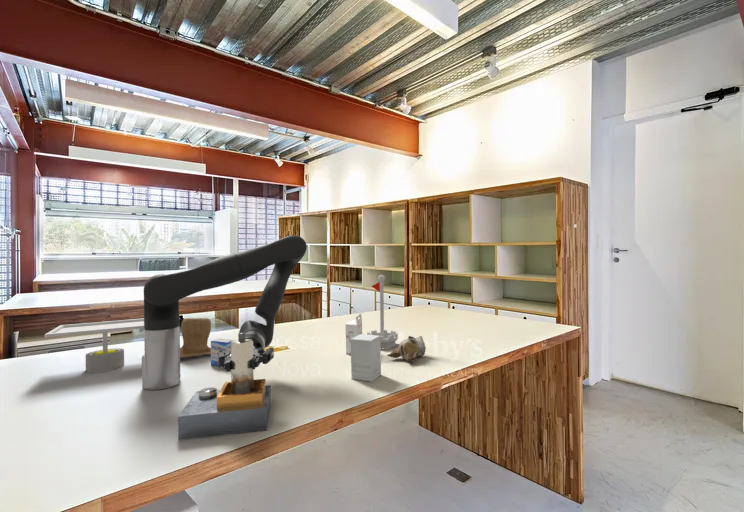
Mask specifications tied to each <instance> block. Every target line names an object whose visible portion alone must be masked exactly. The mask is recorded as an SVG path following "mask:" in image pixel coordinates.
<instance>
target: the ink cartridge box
mask: <svg viewBox="0 0 744 512" xmlns="http://www.w3.org/2000/svg"><path fill="white" fill-rule="evenodd" d="M360 334H363V317H362V313H359V314H358V315H356V317H355V319H353V320H349V321H348V322H347V323H345V354H346V355H351V339H352V338H354V337H356V336H358V335H360Z"/></svg>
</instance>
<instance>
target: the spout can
mask: <svg viewBox="0 0 744 512" xmlns="http://www.w3.org/2000/svg"><path fill="white" fill-rule="evenodd" d="M237 337H238V339H237V340H236V339H235V341H232V342H231V370H230V382H231V394H232V395H233V394H244V393H253V392H254V380H255V378H254V374H255V373H254V370H255V369H254V370H252V358H253V340H251V339H246V333H239V332H238V333H237Z"/></svg>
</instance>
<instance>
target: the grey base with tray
mask: <svg viewBox="0 0 744 512" xmlns="http://www.w3.org/2000/svg"><path fill="white" fill-rule="evenodd" d="M271 408H272V385H271V384H270V385H269V384H268V385H267V384H266V378H260V379H259V378H258V379H257V378H256V379H254V392H253V393H244V394H233V395H232V394H231V381H225V382H223V385H222V387H221V389H217V388H216V387H206V388H202V389H199V390H197V391H195V392H194V393H193V395H192V397H191V398H190V399H189V401H188V402H187V404H186V405H185V406H184V407H183V409H182V410H181V411H180V413H179V414H178V416H177V433H178V434H177V437H178V438H177V439H178V441H181V440H190V439H191V440H192V439H200V438H201V439H202V438H207V437H208V438H210V437H218V436H228V435H235V434H236V435H238V434H246V433H257V432H264V431H268V427H269V421H270V415H271Z"/></svg>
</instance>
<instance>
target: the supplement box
mask: <svg viewBox="0 0 744 512" xmlns="http://www.w3.org/2000/svg"><path fill="white" fill-rule="evenodd" d="M381 350H382V349H380V336H376V335H367V334H363V333H362V334H360V335H358V336H356V337H354V338H352V339H351V354H350V363H351V364H350V367H351V370H350V372H351V379H352V380H357V381H364V382H374V381H375V380H377V379H378V378H379V377H380V376H381V374H382V357H381V352H382V351H381Z"/></svg>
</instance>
